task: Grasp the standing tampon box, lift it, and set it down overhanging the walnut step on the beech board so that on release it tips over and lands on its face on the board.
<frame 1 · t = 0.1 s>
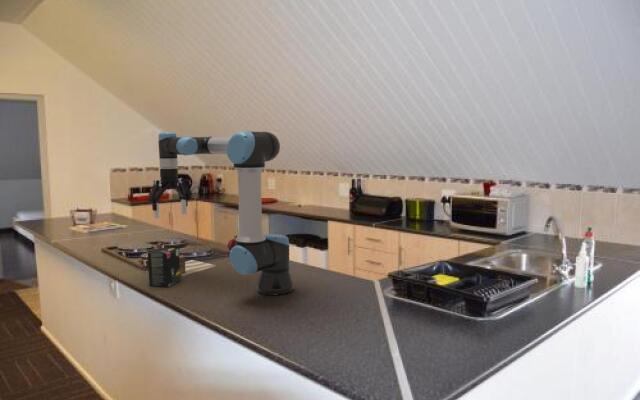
hand: (170, 216, 217), 28 cm above the counter, fingers open, 13 cm apart
fruit: (236, 252, 267), on the counter
tampon box: (165, 283, 213), on the counter
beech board: (188, 268, 236), on the counter
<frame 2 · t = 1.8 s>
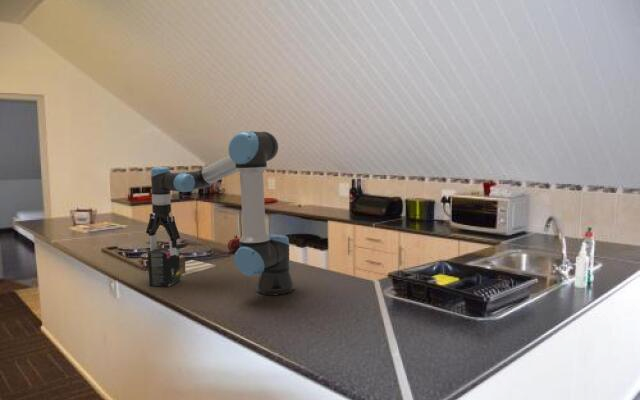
hand: (163, 252, 211), 13 cm above the counter, fingers open, 13 cm apart
nothing on the counter moved.
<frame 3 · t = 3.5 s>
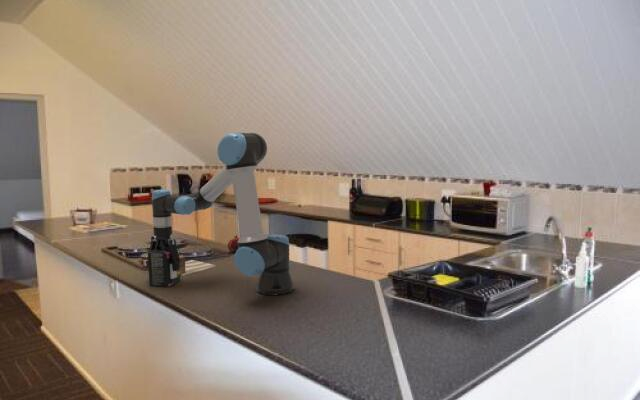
hand: (164, 275, 212), 3 cm above the counter, fingers closed on tampon box, 11 cm apart
tampon box: (165, 283, 213), on the counter, touching gripper
everything else where it was.
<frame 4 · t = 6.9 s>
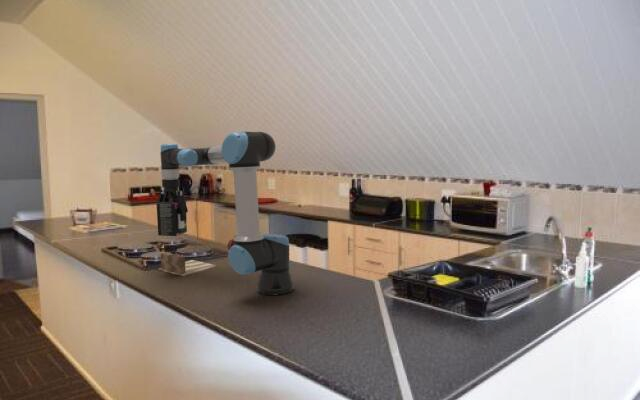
hand: (172, 226, 222), 22 cm above the counter, fingers closed on tampon box, 11 cm apart
tampon box: (172, 234, 222), point 19 cm above the counter, touching gripper
everything else where it was.
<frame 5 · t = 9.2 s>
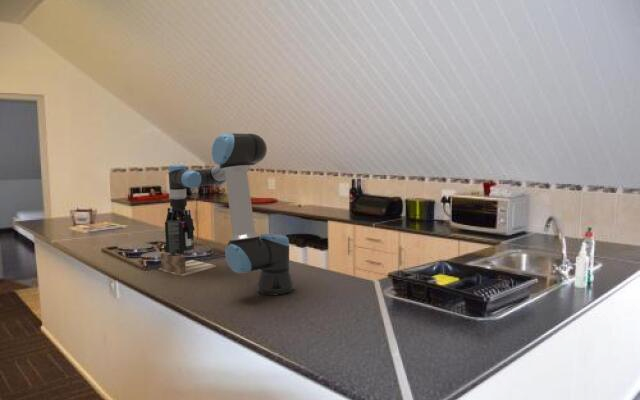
hand: (180, 244, 231), 13 cm above the counter, fingers closed on tampon box, 11 cm apart
tampon box: (180, 251, 231), point 9 cm above the counter, touching gripper
everything else where it was.
when the fingers open (12 cm above the counter, at t = 10.3 s): tampon box drops 4 cm, resting on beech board.
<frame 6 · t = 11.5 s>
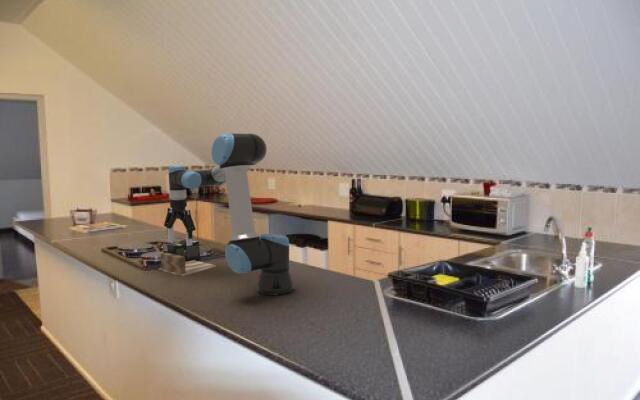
hand: (180, 243, 231), 13 cm above the counter, fingers open, 13 cm apart
tampon box: (168, 254, 243), point 5 cm above the counter, touching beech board
everything else where it was.
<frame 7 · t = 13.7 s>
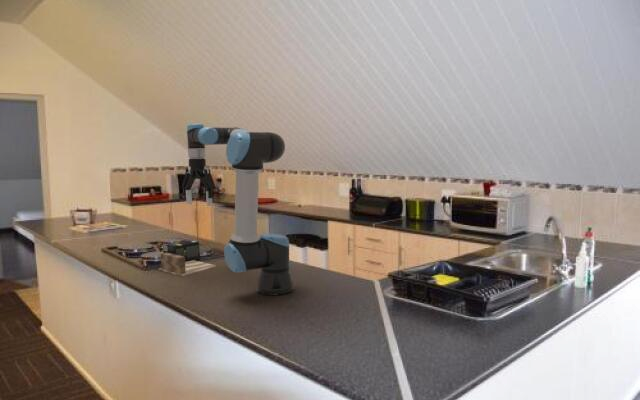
hand: (199, 204, 225), 32 cm above the counter, fingers open, 13 cm apart
nothing on the counter moved.
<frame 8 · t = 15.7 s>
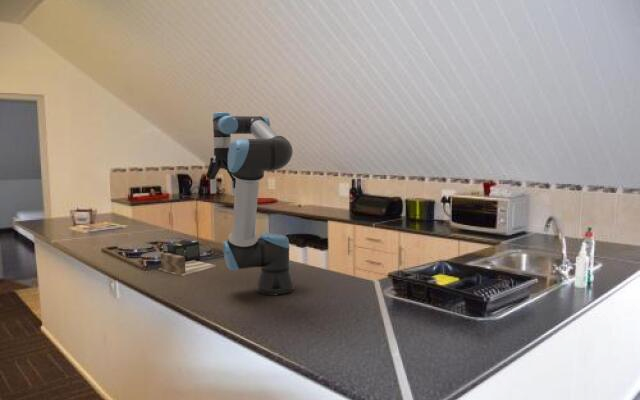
hand: (223, 194, 223), 37 cm above the counter, fingers open, 13 cm apart
nothing on the counter moved.
at the end: tampon box tilted 90°; tampon box inside the target area (13.9 cm from its centre), point 4.9 cm above the counter; the gripper is holding nothing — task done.
